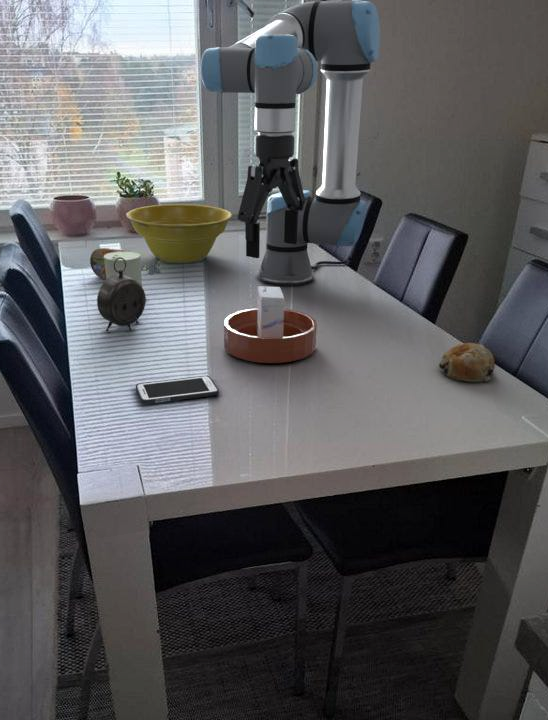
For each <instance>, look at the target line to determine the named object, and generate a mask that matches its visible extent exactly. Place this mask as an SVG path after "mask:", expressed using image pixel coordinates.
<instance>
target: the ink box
mask: <svg viewBox="0 0 548 720" xmlns="http://www.w3.org/2000/svg"><path fill="white" fill-rule="evenodd" d="M257 308H258V320H257V337H283V324H284V309H285V297H284V294H283V291H282V289H281V287H280V286H262V285H261V286H258V287H257Z"/></svg>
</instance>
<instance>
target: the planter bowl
mask: <svg viewBox="0 0 548 720" xmlns="http://www.w3.org/2000/svg"><path fill="white" fill-rule="evenodd" d="M125 216H126V218H127V219H129V220H130V222H131V225H132V227H133V229H134V231H135V232H136V233H137V234H138V235H140V236H141V237H142V238H143V239H144V242H145V243H146V245H147V247H148V248H149V250H150V252H151V253H152V255H154V256H155V257H156V258H158V259H159V260H160V261H162V262H167V263H173V264H188V263H195V262H200V261H201V260H204V258H206V257H207V256H208V255H209V254H210V251H211V250H212V248H213V246H214V244H215V242H216V240H217V238H218V237H219V236H220V235H221V234H223V233H224V231H225V230H226V227H227V225H228V222H229V220H230V219H231V218H232V217H233V214H232V212H230V211H229V210H226V209H224V208H220V207H216V206H209V205H203V204H202V205H201V204H185V203H184V204H183V203H171V204H156V205H147V206H141V207H137V208H134V209H130V210H129V211H128V212H126V215H125Z"/></svg>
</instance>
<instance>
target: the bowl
mask: <svg viewBox="0 0 548 720" xmlns="http://www.w3.org/2000/svg"><path fill="white" fill-rule="evenodd" d="M257 320H258V307H256V308H249V309H248V308H247V309H244V310H238V311H236V312H234V313H232V314H229V315H228V316H227V317H225V318H224V322H223V347H224V349H225V350H226V352H227V354H229V355H231V356H233V357H235V358H237V359H241V360H244V361H248V362H254V363H261V364H282V363H290V362H296V361H298V360H302V359H305V358H307V357H309V356H310V355H312V354H313V353H314V351H315V350H316V348H317V347H316V345H317V333H318V331H317V330H318V324H317V320H316V319H314V318H313V317H312V316H311V315H309V314H307V313H304V312H301V311H298V310H293V309H289V308H284V324H283V337H257Z"/></svg>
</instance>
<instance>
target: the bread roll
mask: <svg viewBox="0 0 548 720" xmlns="http://www.w3.org/2000/svg"><path fill="white" fill-rule="evenodd" d="M495 361H496V360H495V357H494V355H493V354H492V352H491V351H490V350H489V349H488V348H486V347H485V345H484V344H479V343H474V342H465V343H462V344H458V345H455V346H453V347H451V348H450V349H449V350H447V351H446V352H445V353H443V356H441V359H440V362H439V364H438V365H439V368H440V369H442V373H443V374H444V375H445V376H446V377H448V378H450V379H453V380H455V381H457V382H467V383H483V382H485V383H486V382H488V381H490V380H491V377H492V375H493V374H494V371H495V367H496V362H495Z"/></svg>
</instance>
